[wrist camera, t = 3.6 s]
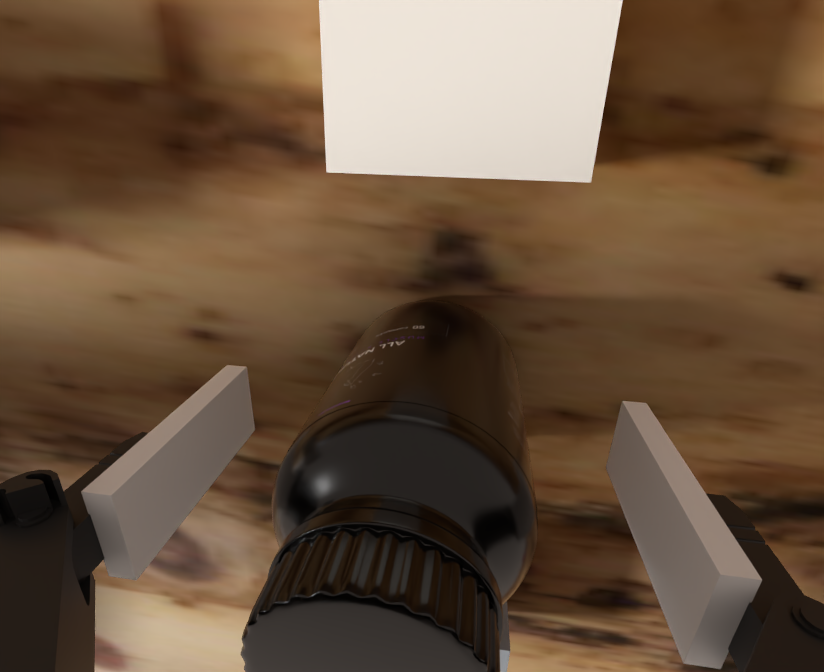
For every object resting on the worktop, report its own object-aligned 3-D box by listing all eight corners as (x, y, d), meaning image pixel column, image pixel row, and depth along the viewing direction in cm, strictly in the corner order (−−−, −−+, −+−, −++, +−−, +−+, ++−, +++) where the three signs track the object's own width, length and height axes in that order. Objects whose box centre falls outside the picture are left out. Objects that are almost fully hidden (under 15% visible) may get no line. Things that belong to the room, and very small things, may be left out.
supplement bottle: (383, 268, 17) (221, 475, 6) (545, 334, 18) (658, 645, 7) (334, 407, 20) (163, 715, 9) (474, 463, 20) (470, 831, 9)
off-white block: (550, 169, 15) (590, 182, 10) (378, 163, 16) (326, 172, 11) (581, -51, 13) (656, -195, 8) (378, -47, 14) (311, -176, 8)
